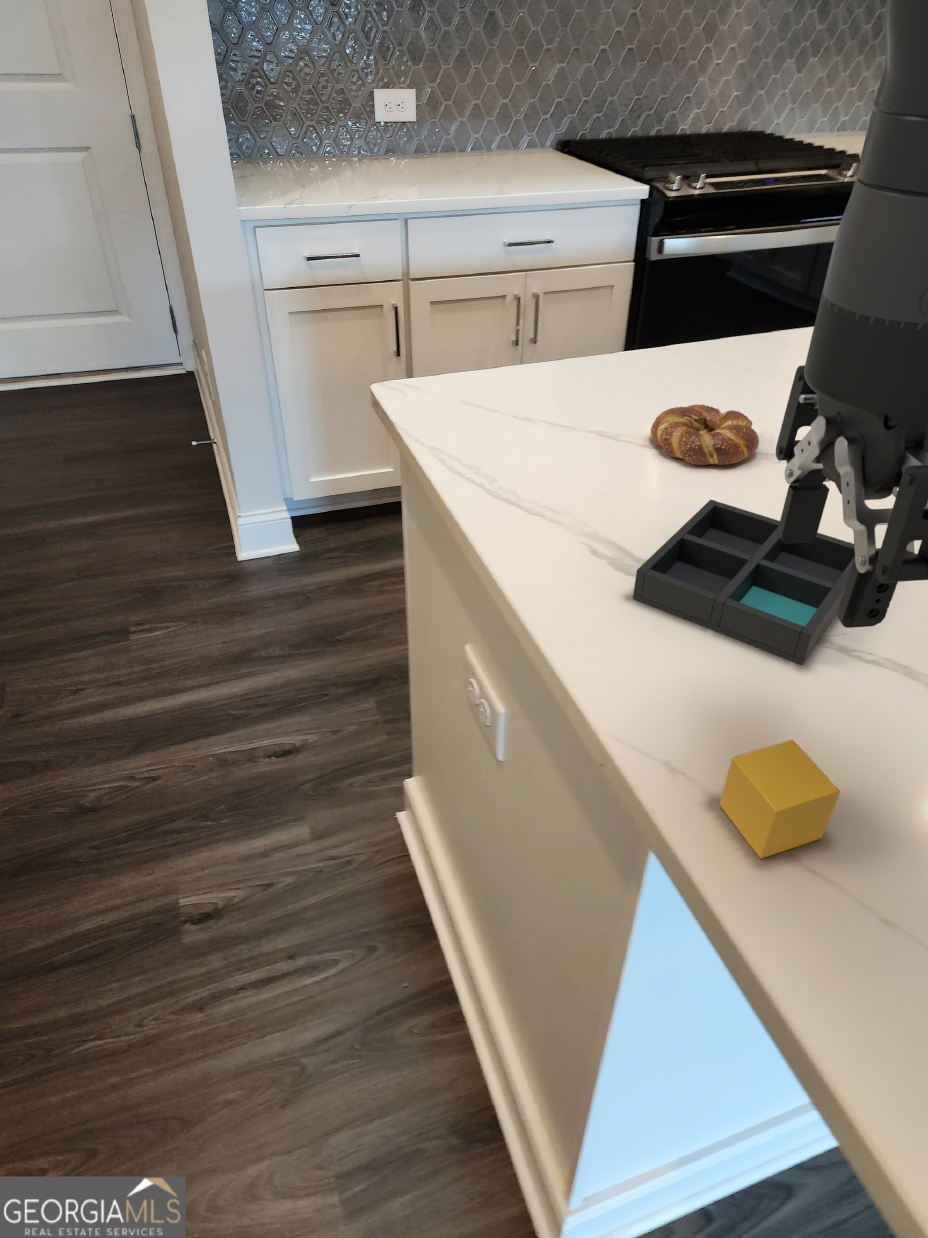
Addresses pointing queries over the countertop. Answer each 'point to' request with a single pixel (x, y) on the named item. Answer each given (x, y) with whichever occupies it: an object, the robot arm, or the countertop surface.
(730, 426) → the pretzel
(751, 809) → the block
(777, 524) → the tray
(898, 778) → the countertop surface
